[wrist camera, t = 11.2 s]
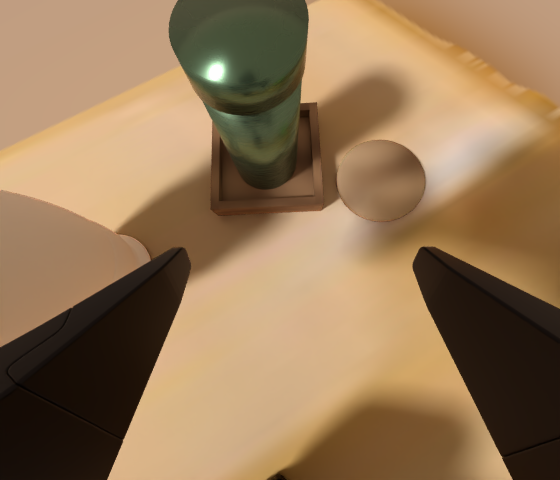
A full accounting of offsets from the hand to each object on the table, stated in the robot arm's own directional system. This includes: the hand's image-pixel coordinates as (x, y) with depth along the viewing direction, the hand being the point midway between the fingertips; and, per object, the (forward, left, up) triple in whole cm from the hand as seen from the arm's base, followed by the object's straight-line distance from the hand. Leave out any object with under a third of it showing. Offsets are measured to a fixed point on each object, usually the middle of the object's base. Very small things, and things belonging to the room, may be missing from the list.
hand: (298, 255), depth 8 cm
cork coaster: (0, -13, -14) cm, 19 cm away
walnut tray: (+10, -6, -14) cm, 18 cm away
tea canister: (+10, -6, -12) cm, 17 cm away
